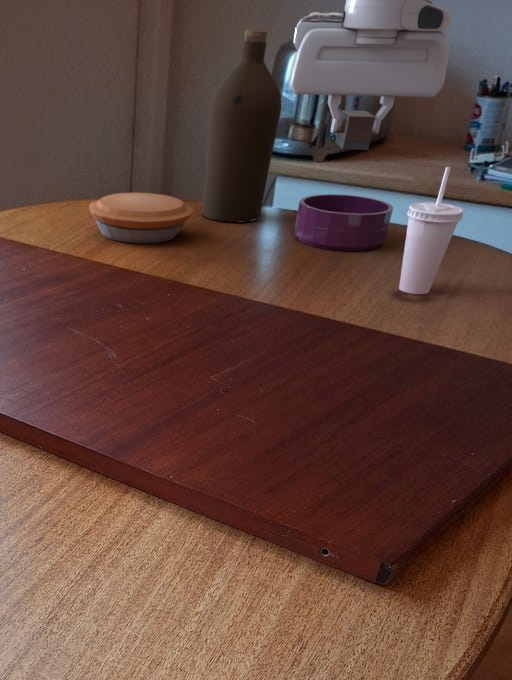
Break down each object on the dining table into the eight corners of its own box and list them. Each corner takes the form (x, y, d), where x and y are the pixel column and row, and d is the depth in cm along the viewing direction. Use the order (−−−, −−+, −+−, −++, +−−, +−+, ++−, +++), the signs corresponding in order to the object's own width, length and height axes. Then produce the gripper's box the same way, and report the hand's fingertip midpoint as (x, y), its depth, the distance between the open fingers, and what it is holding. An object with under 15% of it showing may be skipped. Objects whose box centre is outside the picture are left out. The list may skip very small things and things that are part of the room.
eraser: (334, 142, 127) (341, 110, 124) (359, 142, 126) (366, 110, 124) (342, 149, 122) (349, 116, 119) (368, 150, 122) (375, 116, 119)
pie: (148, 254, 124) (151, 215, 121) (66, 233, 133) (68, 197, 130) (210, 234, 133) (214, 199, 130) (130, 217, 142) (133, 182, 139)
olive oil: (271, 224, 139) (303, 33, 124) (205, 224, 138) (229, 32, 123) (253, 208, 147) (281, 28, 132) (191, 208, 147) (212, 27, 131)
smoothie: (445, 288, 113) (481, 167, 105) (432, 300, 109) (469, 175, 101) (396, 279, 116) (426, 160, 108) (381, 291, 112) (412, 169, 103)
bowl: (373, 230, 137) (382, 195, 133) (392, 253, 126) (402, 216, 123) (287, 227, 137) (294, 192, 134) (300, 250, 127) (307, 212, 124)
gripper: (301, 12, 113) (282, 134, 121) (465, 14, 111) (433, 138, 120) (294, 10, 118) (276, 128, 126) (451, 12, 116) (421, 131, 125)
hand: (354, 133), depth 123 cm, fingers closed on eraser, 3 cm apart
